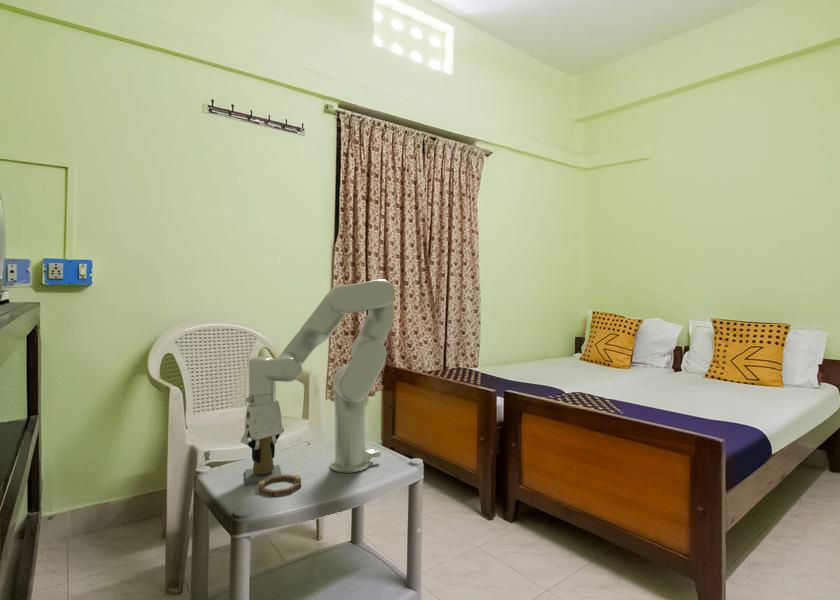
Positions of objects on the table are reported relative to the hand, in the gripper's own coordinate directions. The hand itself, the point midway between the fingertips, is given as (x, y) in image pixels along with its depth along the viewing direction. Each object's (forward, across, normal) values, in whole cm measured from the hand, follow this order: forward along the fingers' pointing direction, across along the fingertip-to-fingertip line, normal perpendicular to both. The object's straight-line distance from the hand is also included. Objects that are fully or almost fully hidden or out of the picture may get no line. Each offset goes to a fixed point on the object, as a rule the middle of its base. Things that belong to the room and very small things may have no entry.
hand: (263, 458), depth 136 cm
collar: (+5, -2, -10) cm, 12 cm away
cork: (+3, 0, 0) cm, 3 cm away
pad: (+5, 0, 0) cm, 5 cm away
